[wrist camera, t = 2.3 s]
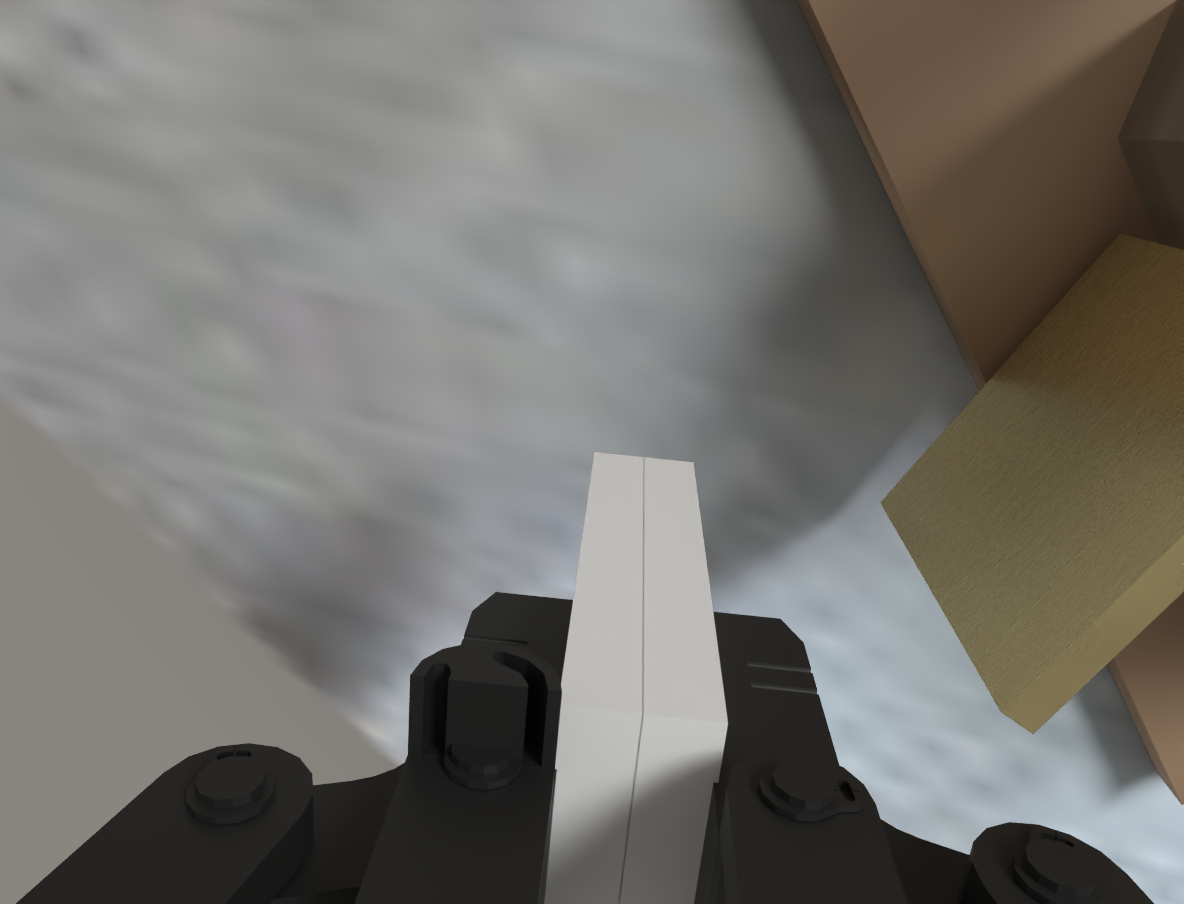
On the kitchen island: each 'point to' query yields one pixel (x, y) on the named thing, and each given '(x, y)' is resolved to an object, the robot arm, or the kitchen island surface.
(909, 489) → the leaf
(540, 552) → the kitchen island surface
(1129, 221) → the jig
